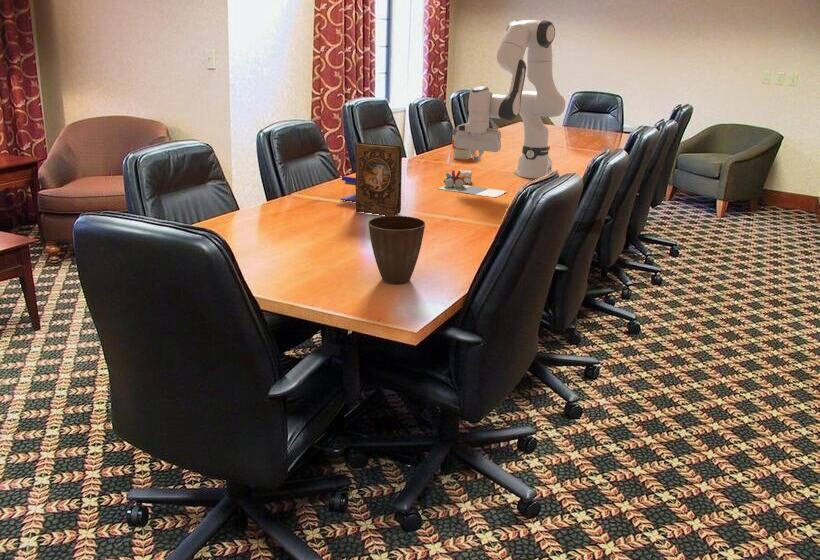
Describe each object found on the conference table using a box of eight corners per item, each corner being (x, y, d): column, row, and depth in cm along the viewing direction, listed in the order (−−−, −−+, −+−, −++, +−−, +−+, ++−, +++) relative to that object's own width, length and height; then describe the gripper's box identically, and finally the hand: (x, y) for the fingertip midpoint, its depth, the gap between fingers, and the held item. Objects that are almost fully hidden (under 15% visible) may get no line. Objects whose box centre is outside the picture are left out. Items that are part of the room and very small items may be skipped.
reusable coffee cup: (447, 156, 378) (448, 128, 373) (468, 155, 382) (470, 127, 377) (455, 160, 367) (457, 131, 362) (477, 159, 370) (479, 130, 365)
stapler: (339, 201, 272) (339, 176, 269) (374, 189, 296) (375, 166, 293) (364, 205, 268) (364, 180, 264) (398, 192, 291) (399, 168, 288)
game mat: (452, 183, 309) (452, 183, 309) (508, 191, 296) (508, 191, 296) (437, 189, 298) (437, 188, 297) (495, 197, 285) (495, 197, 285)
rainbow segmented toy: (465, 189, 297) (466, 172, 295) (442, 188, 298) (443, 171, 296) (466, 185, 305) (466, 168, 303) (444, 184, 306) (444, 167, 304)
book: (353, 212, 255) (353, 144, 246) (359, 209, 260) (359, 142, 251) (395, 217, 250) (397, 147, 241) (400, 214, 255) (402, 145, 246)
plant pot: (358, 284, 183) (358, 225, 178) (380, 267, 197) (381, 212, 191) (411, 292, 178) (413, 232, 173) (430, 275, 192) (432, 219, 186)
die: (460, 181, 315) (460, 170, 313) (471, 181, 314) (471, 170, 312) (458, 183, 310) (459, 172, 309) (469, 184, 310) (470, 172, 308)
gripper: (504, 128, 285) (502, 162, 290) (460, 124, 295) (458, 156, 300) (497, 130, 280) (496, 164, 285) (453, 126, 290) (452, 159, 295)
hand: (476, 160), depth 293 cm, fingers closed
